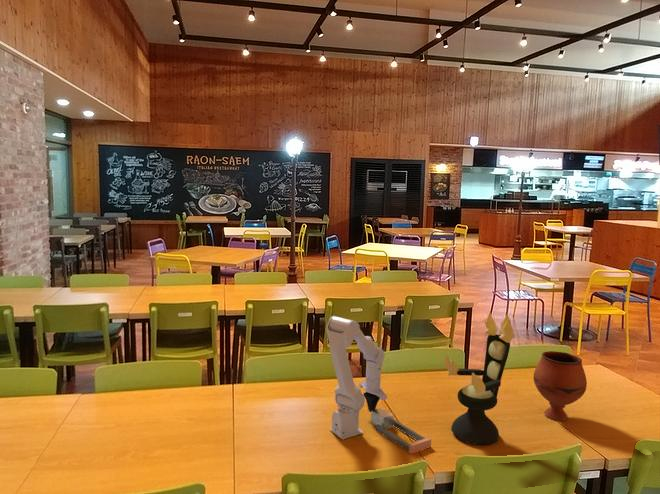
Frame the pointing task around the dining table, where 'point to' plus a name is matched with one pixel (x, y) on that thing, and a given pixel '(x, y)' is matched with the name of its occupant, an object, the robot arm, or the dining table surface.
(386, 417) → the lock block
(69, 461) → the dining table surface
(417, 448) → the guide rails
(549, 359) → the goblet
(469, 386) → the spiked throne chair
